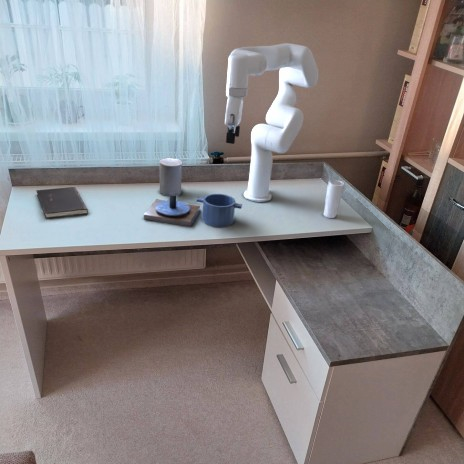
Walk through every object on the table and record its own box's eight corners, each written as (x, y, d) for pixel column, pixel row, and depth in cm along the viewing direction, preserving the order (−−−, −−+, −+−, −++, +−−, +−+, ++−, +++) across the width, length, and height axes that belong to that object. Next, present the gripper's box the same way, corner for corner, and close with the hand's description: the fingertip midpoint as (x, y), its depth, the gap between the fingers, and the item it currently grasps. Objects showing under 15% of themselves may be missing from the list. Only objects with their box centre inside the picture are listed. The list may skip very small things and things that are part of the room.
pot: (200, 210, 202) (200, 190, 197) (242, 216, 200) (244, 197, 195) (192, 222, 192) (193, 202, 187) (237, 230, 190) (239, 210, 185)
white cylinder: (338, 214, 210) (345, 181, 202) (335, 220, 205) (343, 187, 196) (323, 211, 212) (330, 178, 203) (320, 217, 207) (327, 183, 198)
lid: (161, 201, 201) (161, 185, 198) (193, 206, 200) (194, 190, 196) (150, 214, 190) (150, 198, 186) (184, 219, 189) (185, 203, 185)
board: (156, 203, 204) (156, 199, 203) (200, 210, 202) (200, 205, 201) (143, 219, 191) (143, 214, 190) (190, 226, 189) (190, 221, 188)
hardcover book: (45, 218, 184) (45, 213, 183) (36, 195, 200) (36, 190, 199) (88, 214, 190) (87, 208, 189) (76, 191, 207) (75, 186, 205)
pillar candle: (155, 193, 212) (155, 159, 204) (166, 186, 220) (166, 153, 211) (175, 198, 210) (175, 164, 201) (185, 190, 217) (186, 158, 209)
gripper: (230, 86, 182) (227, 132, 192) (221, 95, 168) (218, 144, 178) (250, 88, 181) (245, 134, 191) (242, 98, 167) (238, 147, 177)
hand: (232, 139), depth 185 cm, fingers open, 9 cm apart
